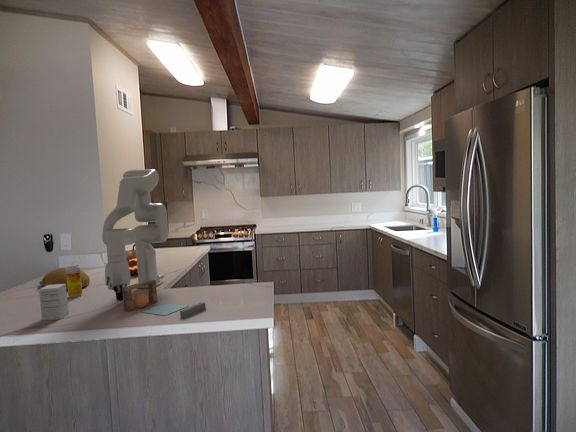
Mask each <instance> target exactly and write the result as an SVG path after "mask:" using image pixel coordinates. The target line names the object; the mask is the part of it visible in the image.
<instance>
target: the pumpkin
mask: <svg viewBox="0 0 576 432" xmlns="http://www.w3.org/2000/svg"><path fill="white" fill-rule="evenodd" d="M126 254H127V255H128V257H126V260H127V261H128V265H129V269H130V276H132V275H138V270H137V258H136V248H135V243H133V244H132V249H129V250H126Z"/></svg>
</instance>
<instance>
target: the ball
mask: <svg viewBox="0 0 576 432" xmlns="http://www.w3.org/2000/svg"><path fill="white" fill-rule="evenodd" d="M132 302H133V306H135V307H136V308H139V309H141V308H144V307H146V306H147V305H148V303H149V296H148V295H147V294H146V293H144V292H139V293H137V294H135V296H134V297H133V298H132Z"/></svg>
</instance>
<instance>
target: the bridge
mask: <svg viewBox="0 0 576 432" xmlns="http://www.w3.org/2000/svg"><path fill="white" fill-rule="evenodd" d="M147 285H148V288H147V294H148V295H147V296H148V299H149V300H148V303H150V304H155V303H158V292H157V286H156V280H148V281H144V282H141V283H138V282H137V283H133V284H129V285H128V286H126V287H123V288H122V291H123V300H122V301H123V311H124V312H128V313H129V312H132V311H134V302H133V293H132V291H133V290H137V289H141V288H140V287H143V286H147Z"/></svg>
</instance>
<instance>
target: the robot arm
mask: <svg viewBox="0 0 576 432" xmlns="http://www.w3.org/2000/svg"><path fill="white" fill-rule="evenodd" d="M159 175H160V174H159V173H158V171H157V170H156V169H153V168H152V169H151V168H147V169H146V168H145V169H131V170H127V171H124V173H123V175H122V177H123V178H122V179H121V180H120V182H119V185H118V186H119V187H118V193H117V201H116V206H115V208H114V209H112V211H111V212H110V213H109V214H108V215H107V216H106V218H105V220H104V222H103V227H102V236H101V239H102V242H103V244H104V245H106V246H105V247H106V257H107V259H106V260H107V263H106V264H105V269H104V283H105V286H107V290H110V291H112V290H113V292H114V293H115V300H116V302H117V301H118V302H122V301H123V291H122V288H123V287H127V286H130V285H131V277H132V275H130V269H129V265H128V261H127V260H126V257H128V255H127V254H126V251H127V250H126V246H130V245H134V244H135V247H134V249H135V250H136V258H137V270H138V274H137V280H138V282H137V283H141V282H144V281H148V280H156V287H157V286H160V285H161V284H162V281H160V280H162V279H165V275H164V274H158V268H157V267H158V266H157V254H156V253H157V252H156V249H155V248H154V246H153V245H152V244H157V243H165V242H166V241H167V240H168V237H169V226H168V214H167V213H168V212H167V209H166V206H165V205H164V203H161V202H158V203H156V202H155V203H152V197H151V193H152V191H153V190H154V189H155V188H156V186H158V183H159V181H160V176H159ZM132 213H133V214H134V219H135V221H136V222H138V223H152V222H153V223H155V222H156V224H142V225H141V224H140V225H137V226H135V227H134V228H130V227H129V228H127V227H126V228H124V227H123V228H114V227H115V225H116V224H117V222H119V221H120V220H121V219H122V218H124V217H126V216H129V215H131V214H132ZM139 289H148V285H147V286H143V287H140V288H139Z"/></svg>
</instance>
